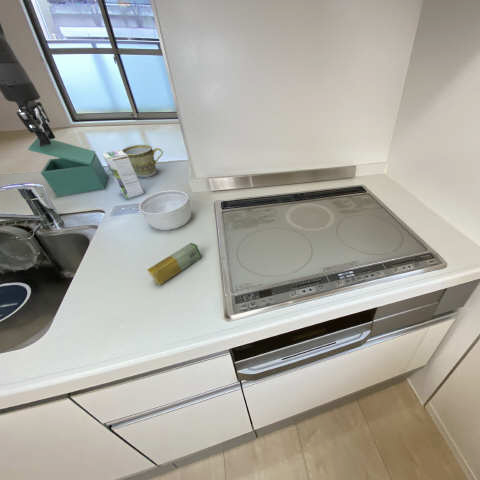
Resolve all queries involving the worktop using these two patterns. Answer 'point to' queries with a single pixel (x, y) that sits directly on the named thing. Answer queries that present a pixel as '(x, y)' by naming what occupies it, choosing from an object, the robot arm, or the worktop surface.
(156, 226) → the ramekin
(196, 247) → the medication box
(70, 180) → the teal box
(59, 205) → the worktop surface
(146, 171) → the ceramic cup
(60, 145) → the teal box lid
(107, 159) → the syrup box
